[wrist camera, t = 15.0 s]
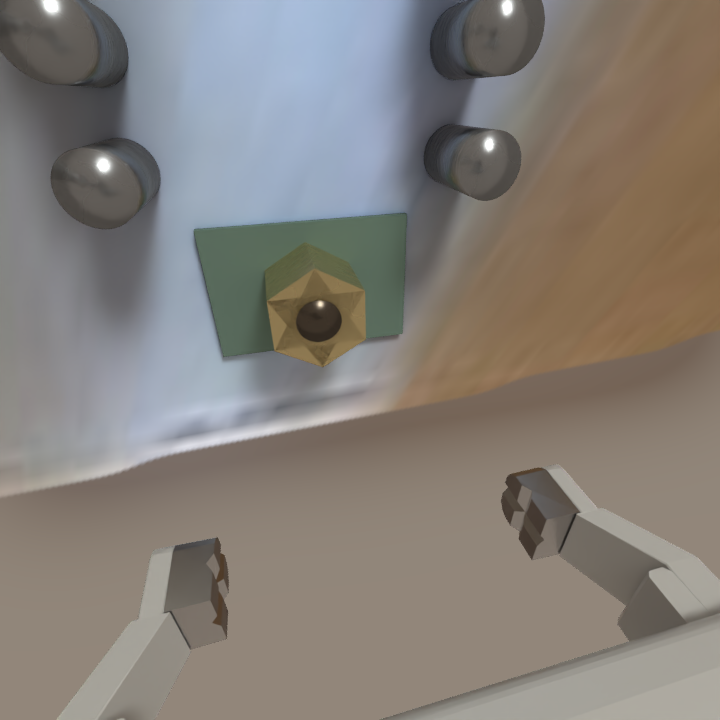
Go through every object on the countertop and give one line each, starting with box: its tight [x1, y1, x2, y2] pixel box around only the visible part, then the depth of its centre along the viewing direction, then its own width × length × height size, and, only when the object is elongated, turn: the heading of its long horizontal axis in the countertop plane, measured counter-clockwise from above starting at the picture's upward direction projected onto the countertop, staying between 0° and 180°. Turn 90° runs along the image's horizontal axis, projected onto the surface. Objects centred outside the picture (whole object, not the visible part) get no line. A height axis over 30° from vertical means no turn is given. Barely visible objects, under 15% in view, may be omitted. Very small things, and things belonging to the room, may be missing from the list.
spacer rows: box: [0, 0, 545, 229], centre depth 17 cm, size 20×13×5 cm, turn 92°
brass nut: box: [265, 242, 366, 367], centre depth 23 cm, size 5×6×5 cm
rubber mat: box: [194, 213, 407, 357], centre depth 25 cm, size 12×8×1 cm, turn 92°
